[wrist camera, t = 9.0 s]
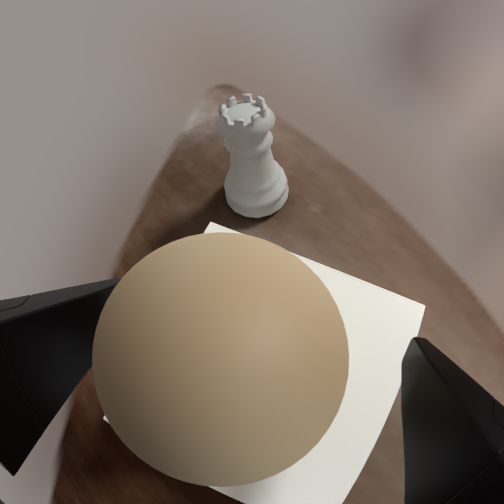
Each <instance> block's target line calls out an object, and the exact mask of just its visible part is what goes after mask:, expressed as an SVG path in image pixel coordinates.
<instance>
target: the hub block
mask: <svg viewBox="0 0 504 504" xmlns="http://www.w3.org/2000/svg"><path fill="white" fill-rule="evenodd" d="M215 232H224V233H238V234H242V233H239V232H236V231H234V230H231V229H228V228H226V227H223V226H221V225H218V224H215V223H213V222H210V223H209V225H208V227H207V228H206V230H205V232H204V233H215ZM288 252H289V251H288ZM290 253H291V252H290ZM292 254H293V255H295V256H296V257H297V258H299V259H300V260H301V261H302V262H304V263H305V264H306V265H307V266H308V267H309V268H310V269H311V270H312V271H313V272H314V273H315V274H316V275H317V276H318V277H319V278H320V280H321V281H322V282H323V284H324V285H325V286H326V288H327V289H328V290H329V292H330V294H331V295H332V297H333V299H334V301H335V303H336V304H337V307H338V309H339V312H340V314H341V317H342V319H343V322H344V326H345V330H346V335H347V339H348V349H349V372H348V380H347V385H346V390H345V394H344V397H343V400H342V403H341V405H340V408H339V411H338V413H337V415H336V417H335V418H334V420H333V422H332V424H331V426H330V428H329V429H328V430H327V432H326V433H325V434H324V436H323V437H322V439H321V440H320V441H319V442H318V444H317V445H316V446H315V447H314V448H313V449H312V450H311V451H310V452H309V453H308V454H307V455H306V456H304V457H303V458H302V459H300V460H299V461H298V462H296V463H295V464H294V465H292V466H291V467H289V468H287V469H285V470H284V471H282V472H280V473H278V474H276V475H274V476H272V477H269V478H266V479H264V480H261V481H258V482H254V483H250V484H245V485H240V486H228V487H213V486H209V487H211V488H213V489H215V490H217V491H219V492H221V493H223V494H225V495H227V496H229V497H231V498H234V499H236V500H238V501H240V502H243V503H245V504H342V503H343V501H344V499H345V498H346V496H347V495H348V493H349V491H350V490H351V488H352V486H353V484H354V483H355V481H356V479H357V477H358V476H359V474H360V472H361V470H362V468H363V466H364V464H365V463H366V461H367V459H368V457H369V455H370V453H371V451H372V449H373V447H374V445H375V443H376V441H377V439H378V437H379V434H380V432H381V430H382V428H383V426H384V424H385V421H386V419H387V417H388V414H389V412H390V410H391V407H392V405H393V403H394V400H395V398H396V395H397V393H398V390H399V387H400V385H401V364H402V359H403V357H404V354H405V352H406V350H407V347H408V345H409V343H410V340H411V339H412V338H413V337H417V335H418V331H419V328H420V324H421V321H422V317H423V313H424V310H425V305H422V304H420V303H417V302H415V301H413V300H410V299H408V298H405V297H403V296H400V295H398V294H395V293H393V292H390V291H388V290H385V289H383V288H380V287H378V286H375V285H373V284H370V283H368V282H365V281H363V280H360V279H358V278H355V277H352V276H350V275H347V274H345V273H342V272H340V271H337V270H335V269H332V268H330V267H327V266H325V265H322V264H319V263H317V262H314V261H312V260H309V259H307V258H304V257H301V256H299V255H296V254H294V253H292ZM103 419H104V420H105V421H107V422H108V420H107V418H106V416H104V418H103ZM108 423H109V422H108ZM109 424H110V423H109Z"/></svg>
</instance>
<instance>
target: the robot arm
mask: <svg viewBox="0 0 504 504" xmlns="http://www.w3.org/2000/svg"><path fill="white" fill-rule="evenodd" d="M121 279H122V278H114V279H109V280H104V281H99V282H94V283H89V284H84V285H78V286H73V287H68V288H63V289H58V290H53V291H48V292H43V293H38V294H33V295H31V296H30V295H27V296H22V297H17V298H11V299H5V300H0V464H1V465H2V466H3V467H4V468H5V469H6V470H7V471H8V472H9V473H10V474H11V475H12V476H14V475H15V474H16V473H17V472H18V470H19V468H20V467H21V465H22V464H23V462H24V461H25V459H26V458H27V456H28V455H29V453H30V452H31V450H32V449H33V447H34V446H35V444H36V443H37V441H38V440H39V438H40V437H41V436H42V434H43V432H44V431H45V429H46V428H47V427H48V425H49V424H50V422H51V421H52V419H53V418H54V417H55V415H56V414H57V413H58V411H59V410H60V408H61V407H62V406H63V404H64V403H65V401H66V400H67V399H68V397H69V396H70V395H71V393H72V392H73V391H74V389H75V388H76V386H77V385H78V384H79V382H80V381H81V380H82V378H83V377H84V376H85V374H86V373H87V372H88V370H89V369H90V368H91V367H92V352H93V342H94V336H95V331H96V327H97V324H98V321H99V318H100V315H101V312H102V310H103V308H104V306H105V303H106V301H107V300H108V298H109V296H110V295H111V293H112V291H113V290H114V288H115V287H116V285H117V284H118V283H119V282H120V280H121ZM401 414H402V426H403V442H404V470H405V499H404V504H504V406H503V405H502V404H501V403H500V402H498V401H497V400H496V399H494V397H493V396H492V395H491V394H489V393H488V392H487V391H486V390H485V389H484V388H483V387H482V386H480V385H479V384H478V383H477V382H476V381H475V380H474V379H472V378H471V377H470V376H469V375H468V374H467V373H466V372H464V371H463V370H462V369H461V368H460V367H459V366H457V365H456V364H455V363H454V362H453V361H452V360H450V359H449V358H448V357H447V356H446V355H445V354H443V353H442V352H441V351H440V350H439V349H437V348H436V347H435V346H434V345H433V344H432V343H430V342H429V341H428V340H427V339H425V338H420V337H413V338H412V339H411V340H410V343H409V345H408V347H407V350H406V352H405V354H404V357H403V359H402V364H401ZM0 504H4V503H3V502H2V501H1V500H0Z"/></svg>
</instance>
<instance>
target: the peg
mask: <svg viewBox="0 0 504 504" xmlns="http://www.w3.org/2000/svg"><path fill="white" fill-rule="evenodd" d="M92 367H93V378H94V383H95V388H96V392H97V396H98V399H99V402H100V405H101V407H102V409H103V412H104V414H105V416H106V418H107V420H108V422H109V423H110V425H111V426H112V428H113V430H114V431H115V433H116V434H117V435H118V437H119V438H120V439H121V440H122V441H123V443H124V444H125V445H126V446H127V447H128V448H129V449H130V450H131V451H132V452H133V453H134V454H135V455H136V456H137V457H139V458H140V459H141V460H143V461H144V462H145V463H147V464H148V465H150V466H151V467H153V468H154V469H156V470H158V471H160V472H162V473H164V474H166V475H168V476H170V477H173V478H175V479H178V480H181V481H184V482H188V483H192V484H197V485H202V486H213V487H228V486H240V485H245V484H250V483H254V482H258V481H261V480H264V479H266V478H269V477H272V476H274V475H276V474H278V473H280V472H282V471H284V470H285V469H287V468H289V467H291V466H292V465H294V464H295V463H296V462H298V461H299V460H300V459H302V458H303V457H304V456H306V455H307V454H308V453H309V452H310V451H311V450H312V449H313V448H314V447H315V446H316V445H317V444H318V442H319V441H320V440H321V439H322V437H323V436H324V434H325V433H326V432H327V430H328V429H329V428H330V426H331V424H332V422H333V420H334V418H335V417H336V415H337V413H338V411H339V408H340V405H341V403H342V400H343V397H344V394H345V390H346V385H347V380H348V372H349V349H348V339H347V335H346V330H345V326H344V322H343V319H342V317H341V314H340V312H339V309H338V307H337V304H336V303H335V301H334V299H333V297H332V295H331V294H330V292H329V290H328V289H327V288H326V286H325V285H324V284H323V282H322V281H321V280H320V278H319V277H318V276H317V275H316V274H315V273H314V272H313V271H312V270H311V269H310V268H309V267H308V266H307V265H306V264H305V263H304V262H302V261H301V260H300V259H299V258H297V257H296V256H295V255H293V254H292V253H290V252H288V251H287V250H285V249H283V248H282V247H280V246H278V245H275V244H273V243H271V242H268V241H266V240H264V239H260V238H257V237H253V236H250V235H244V234H238V233H224V232H215V233H203V234H198V235H193V236H188V237H185V238H182V239H179V240H176V241H173V242H171V243H168V244H166V245H164V246H162V247H160V248H158V249H157V250H155V251H153V252H152V253H150V254H149V255H147V256H145V257H144V258H143V259H142V260H140V261H139V262H138V263H137V264H135V265H134V266H133V267H132V268H131V269H130V270H129V271H128V272H127V273H126V274H125V275H124V276H123V278H122V279H121V280H120V282H119V283H118V284H117V285H116V287H115V288H114V290H113V291H112V293H111V295H110V296H109V298H108V300H107V301H106V303H105V306H104V308H103V310H102V312H101V315H100V318H99V321H98V324H97V327H96V331H95V336H94V342H93V352H92Z"/></svg>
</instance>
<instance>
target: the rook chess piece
mask: <svg viewBox="0 0 504 504" xmlns="http://www.w3.org/2000/svg"><path fill="white" fill-rule="evenodd" d="M242 97H243V100H241V101H236V98H235V97H234V96H232V97H230V98H228V99H226V101H227V107H226V105H223V104H221V105H220V108H219V113H220V114H219V116H218V117H217V120H216V123H215V126H216V130H217V132H218V133H219V134H220V135H222V136H223V137H224V138H225V141H224V144H225V148H226V150H228V151H229V152H230V158H231V167H230V168H229V172H228V173H227V175H226V179H225V183H224V188H225V195H226V199H227V203H228V205H229V206H230V207H231V208H232V209H233V210H234V212H236V213H238V214H241V215H243V216H245V217H255V218H260V217H263V216H267V215H271V214H273V213H274V212H276V211H277V210H279V209H280V208H281V207H282V206H283V204H284V203H285V201H286V200H287V198H288V190H289V188H288V185H287V178H286V175H285V173H284V171H283V169H282V168H281V167H280V166H279V165H278V163H277V162H276V161H275V160H273V156H272V153H271V149H270V146H271V144H272V140H273V136H272V134H271V131H270V129H271V128H272V127H273V126H274V124H275V118H276V117H275V115H274V113H273V111H272V110H271V109H269V108H268V107H267V105H265V100H264V99H263V98H262V97H260V96H258V97H256V101H254V100H252V95H251V94H242Z"/></svg>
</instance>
